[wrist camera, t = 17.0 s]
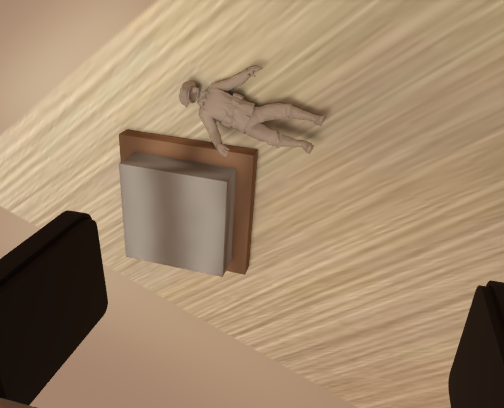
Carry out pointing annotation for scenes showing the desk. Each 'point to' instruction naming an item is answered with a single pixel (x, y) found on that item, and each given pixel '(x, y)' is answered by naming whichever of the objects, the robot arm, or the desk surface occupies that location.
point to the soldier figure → (243, 112)
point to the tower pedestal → (187, 202)
